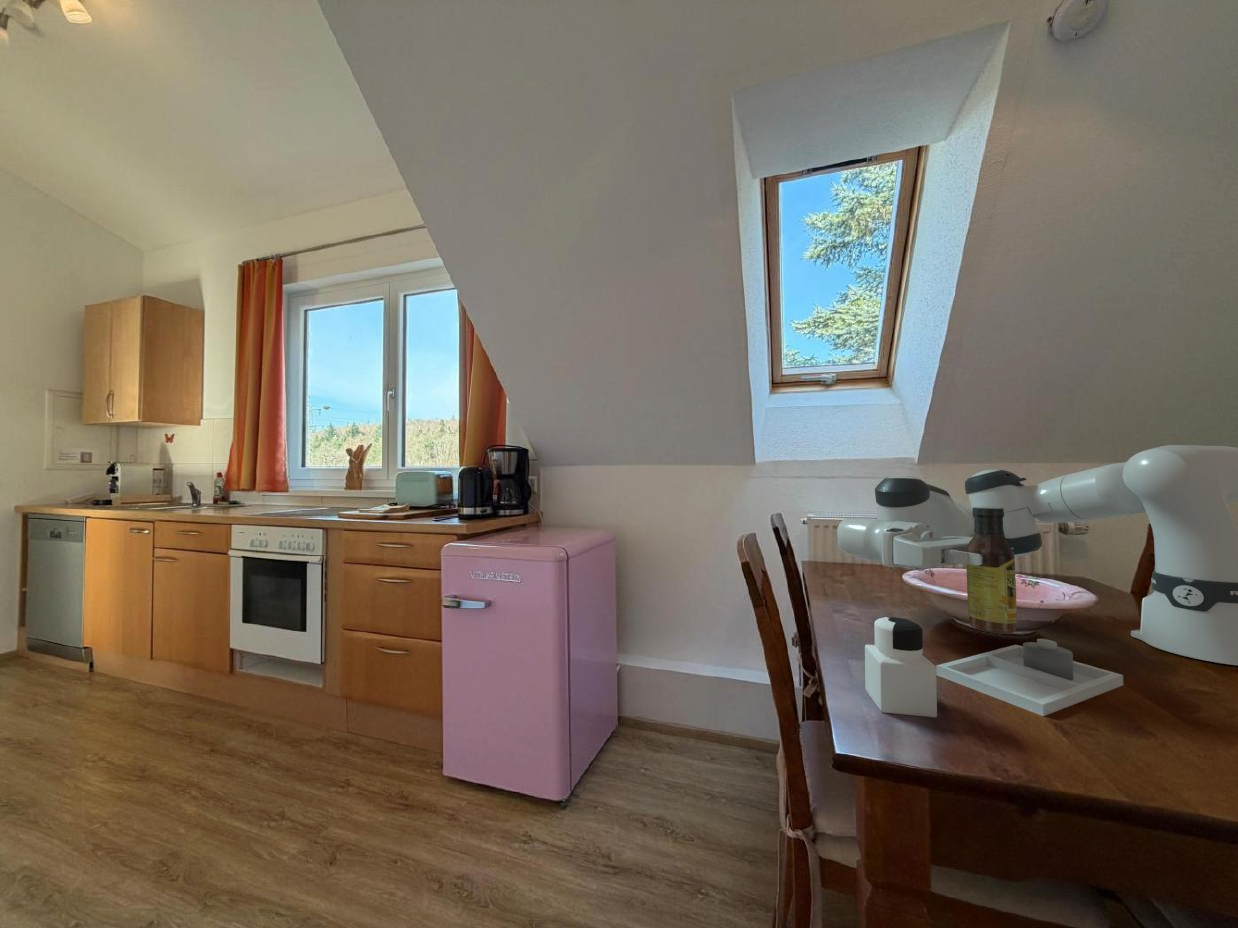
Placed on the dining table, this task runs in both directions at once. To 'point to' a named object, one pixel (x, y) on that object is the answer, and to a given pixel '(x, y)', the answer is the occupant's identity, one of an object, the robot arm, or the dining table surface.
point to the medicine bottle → (900, 669)
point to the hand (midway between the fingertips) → (997, 558)
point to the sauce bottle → (991, 575)
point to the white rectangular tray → (1027, 680)
